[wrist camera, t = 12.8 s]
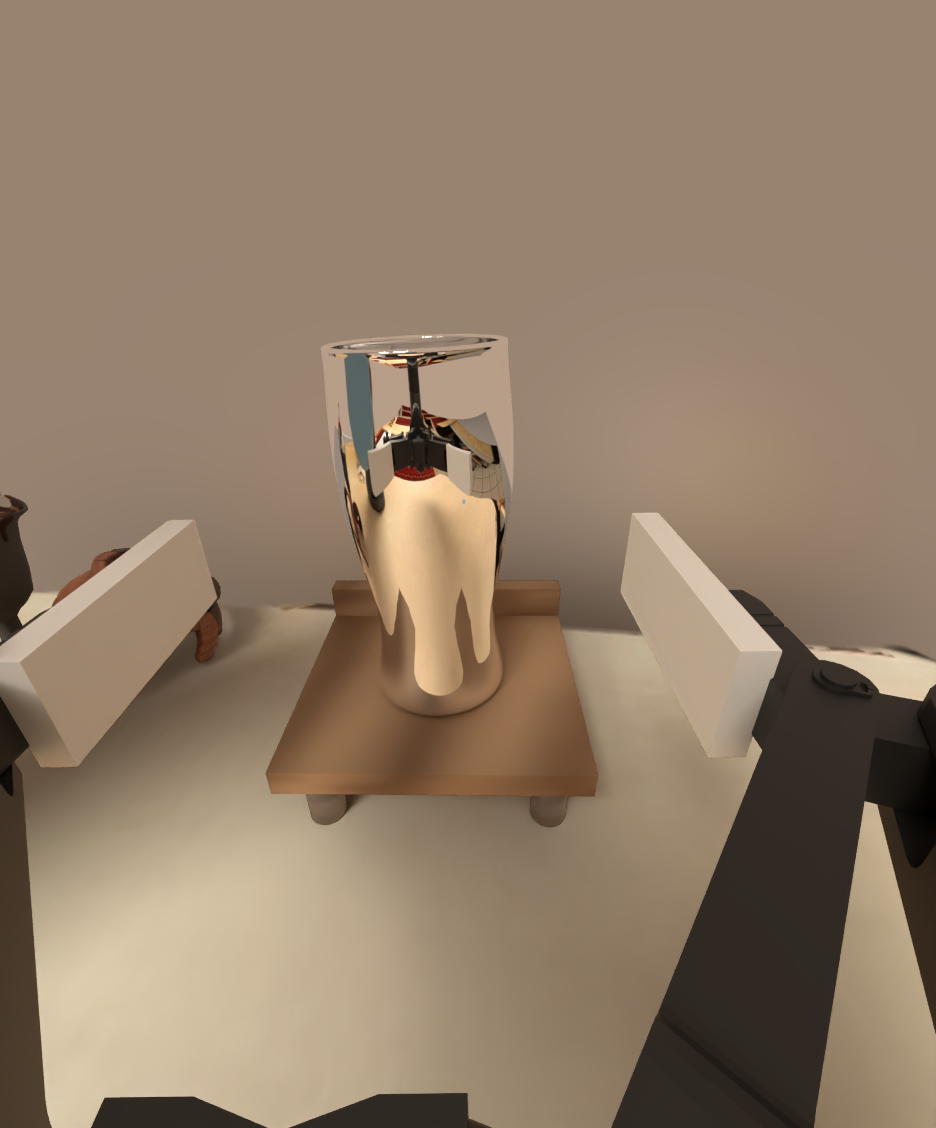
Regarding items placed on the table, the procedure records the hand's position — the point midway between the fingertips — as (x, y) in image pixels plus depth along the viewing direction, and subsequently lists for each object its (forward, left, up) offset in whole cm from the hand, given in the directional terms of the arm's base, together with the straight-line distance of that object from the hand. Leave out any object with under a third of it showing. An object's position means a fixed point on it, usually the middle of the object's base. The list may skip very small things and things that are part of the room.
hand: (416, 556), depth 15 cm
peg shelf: (0, +6, -14) cm, 15 cm away
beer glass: (0, +6, -9) cm, 11 cm away
